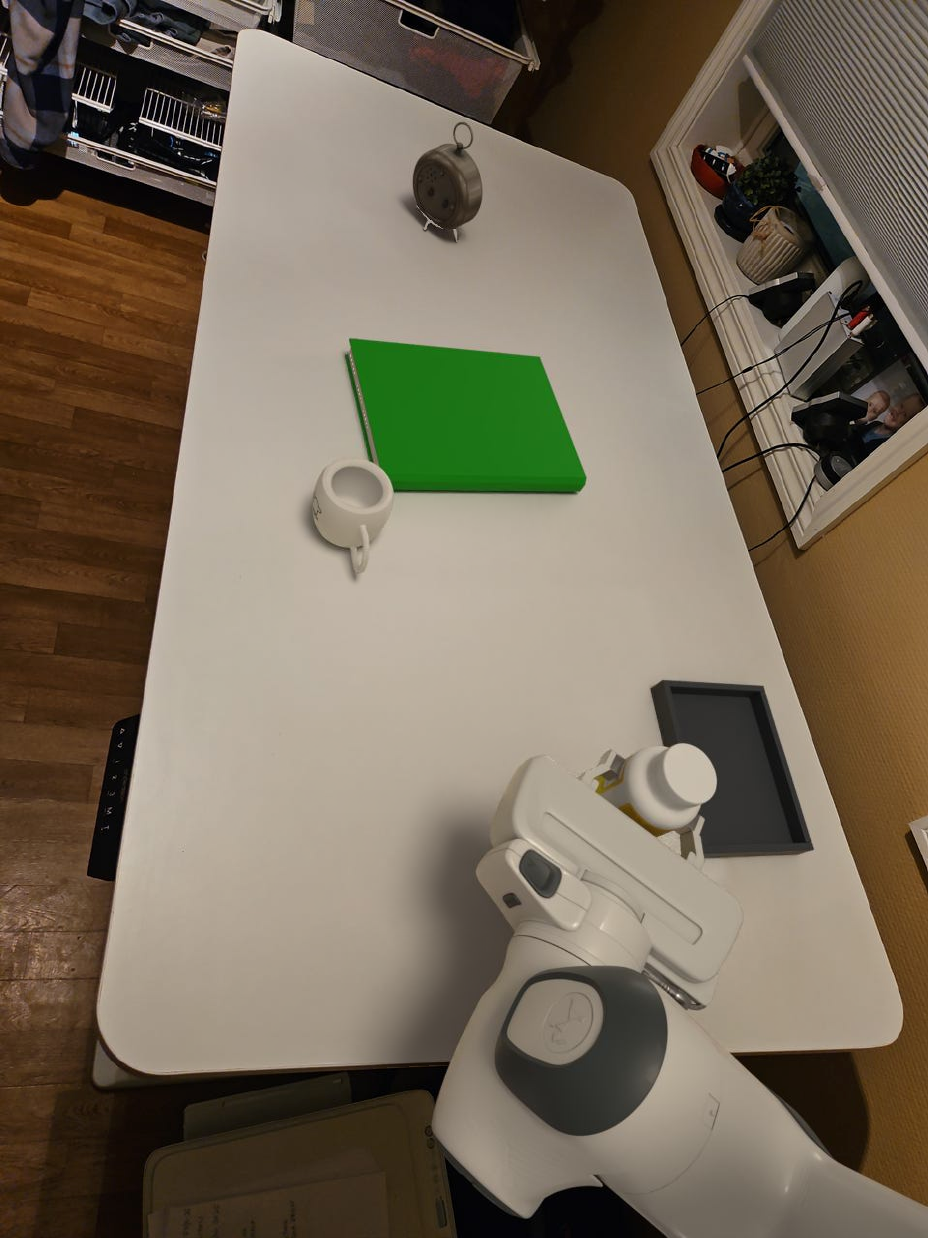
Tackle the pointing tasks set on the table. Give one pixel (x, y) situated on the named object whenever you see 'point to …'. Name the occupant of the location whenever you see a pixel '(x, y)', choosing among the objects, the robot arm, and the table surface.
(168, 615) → the table surface
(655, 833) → the supplement bottle
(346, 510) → the mug
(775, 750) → the tray
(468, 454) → the book
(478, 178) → the alarm clock
